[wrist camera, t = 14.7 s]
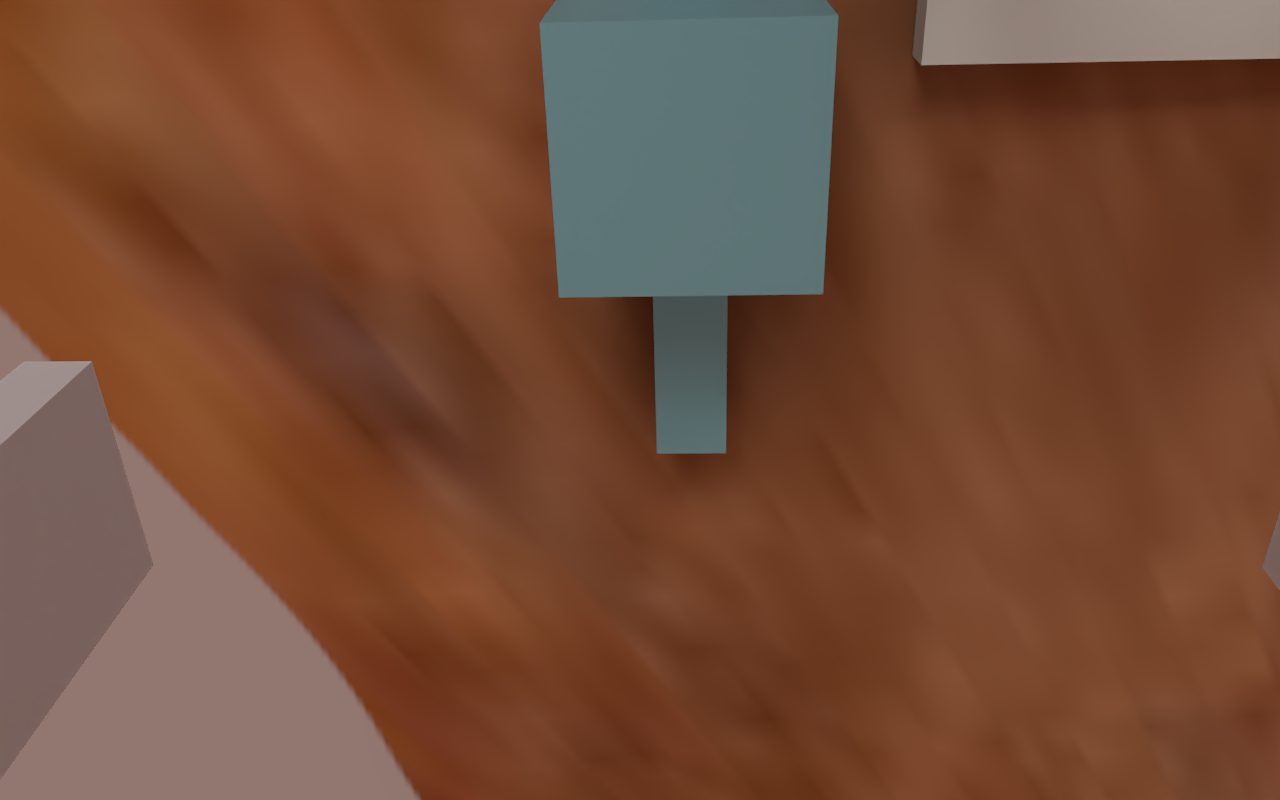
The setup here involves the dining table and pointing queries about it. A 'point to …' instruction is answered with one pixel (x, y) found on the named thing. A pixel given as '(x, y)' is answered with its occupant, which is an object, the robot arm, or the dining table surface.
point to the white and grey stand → (1094, 31)
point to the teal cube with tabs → (689, 172)
